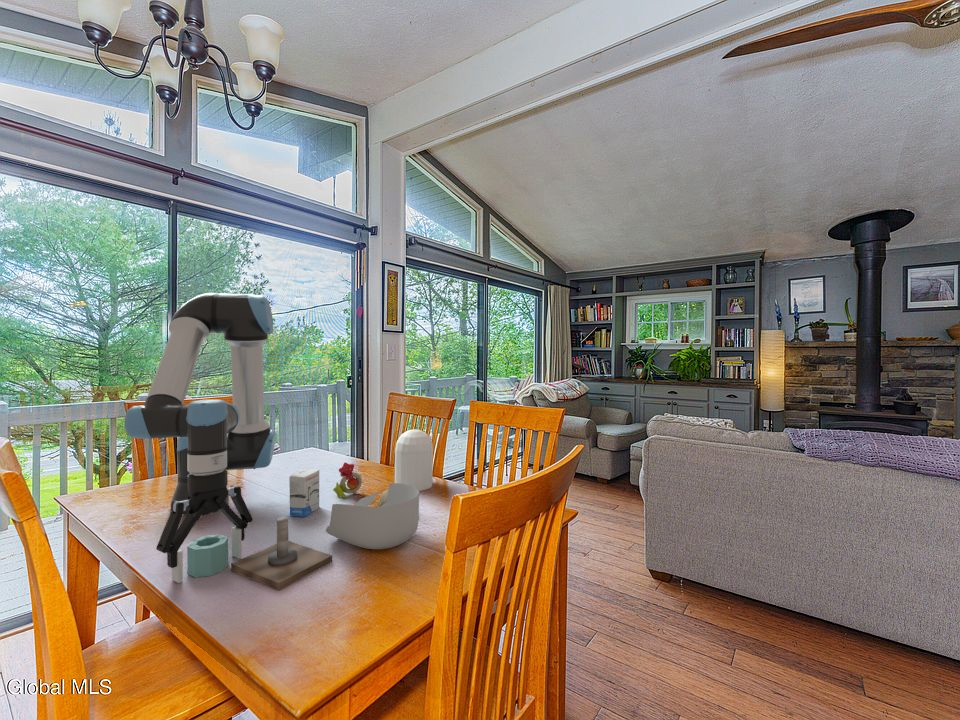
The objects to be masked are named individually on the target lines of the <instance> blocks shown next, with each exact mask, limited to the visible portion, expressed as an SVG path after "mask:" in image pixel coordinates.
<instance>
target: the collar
mask: <svg viewBox="0 0 960 720" xmlns="http://www.w3.org/2000/svg"><path fill="white" fill-rule="evenodd" d="M186 550H187V551H186V554H187V555H186V556H187V557H186V558H187V567H186V568H187V571H186V572H187V575H190V576H192V577H194V578H203V577H212V576H213V575H216V574H218V573H220V572H223V571H225V570H226V569H227V566H228V564H229V536H226V535H223V534H210V535H204V536H200V537H198V538H195V539H193V540H191V541H190V543H188V545H187V546H186Z"/></svg>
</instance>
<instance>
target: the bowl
mask: <svg viewBox="0 0 960 720" xmlns="http://www.w3.org/2000/svg"><path fill="white" fill-rule="evenodd" d="M387 489H388V495H387V501H386V503H384V504H383V505H382V506H381V507H378V506H370V505H371V504H372V503H373V501H374V500H375V499H376V497H377V496H378V495H379V494H380V493H383V490H381V491H379V492H376V493H372V494H370V495H367V496H364V497H362V498H360V499H359V500H357V502H355V504H343V503H332V506H331V512H330V519H329V525H328V526H327V527H326V528H325V531H326V533H327V534H328V535H330V536H333V537H335V538H337V539H339V540H341V541H343V542H345V543H347V544H350V545H352V546H356V547H359V548H363V549H368V550H384V549H391V548H395V547H396V546H397V547H398V546H400V545H402V544H404V543H406V542H407V541H409V540H410V539H411V538H413V536H414V535H415V533H416V532H417V529H418V527H419V517H420V491H418V489H416V488H415V487H413V486H410V485H406V484H400V483H395V482H392V483H389V484H388V488H387Z"/></svg>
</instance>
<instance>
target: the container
mask: <svg viewBox="0 0 960 720" xmlns="http://www.w3.org/2000/svg"><path fill="white" fill-rule="evenodd" d="M433 449H434V446H433V441H432V439H431V437H430V435H428V433H426V432H424V431H423V430H421V429H414V428H413V429H409V430H407V431H405V432H403V433H401V435H400V436H399V438H397V440H396V443H395V447H394V483H400V484H406V485H410V486H413V487H415V488H416V489H418V491H419V492H420V491H424V490H428V489H430V488H432V486H433V478H434V477H433V475H434V474H433V471H434V470H433V461H434V459H433V458H434V456H433V455H434V454H433V452H434V450H433Z"/></svg>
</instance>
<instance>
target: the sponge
mask: <svg viewBox="0 0 960 720" xmlns="http://www.w3.org/2000/svg"><path fill="white" fill-rule="evenodd" d="M388 489H389V488H387V489H385V490H383V491H382V493H381V495H380V496H379V499H378V502H377V504H378V505H377V507H381V506H382V505H383V504H384V503H386V501H387V495H388Z"/></svg>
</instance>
